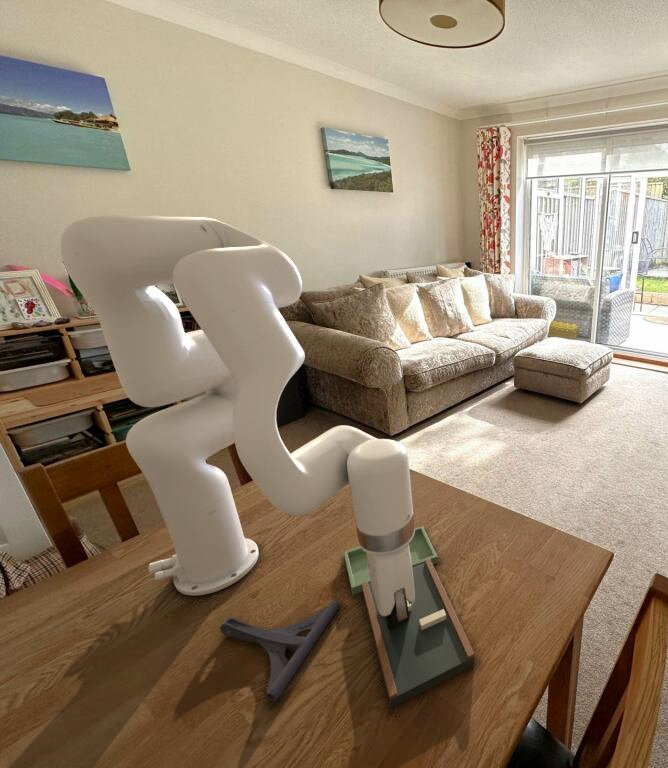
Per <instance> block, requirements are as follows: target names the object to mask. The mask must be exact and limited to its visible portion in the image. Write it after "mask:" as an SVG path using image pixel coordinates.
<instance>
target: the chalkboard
mask: <svg viewBox="0 0 668 768" xmlns="http://www.w3.org/2000/svg"><path fill="white" fill-rule="evenodd" d="M412 571H413V580H414V590H415V601H414V603H413V604H412V605H411V609H412V610H411V611H408V614H409V621H408V622H406V623H404V624H402V625H400V626H397V627H394V628H392V629H388V627H387V623H386V619H385V616H382V615H380V613H379V610H378V607H377V604H376V600H375V596H374V592H373V589H372V585H371V583H369V584H368V581H367V582H364V583H362V590H363V591H362V596H363V600H364V604H365V608H366V612H367V617H368V620H369V624H370V628H371V632H372V636H373V640H374V644H375V648H376V652H377V657H378V660H379V664H380V669H381V673H382V677H383V680H384V681H383V682H384V684H385V685H384V686H385V689H386V693H387V697H388V702H389V705H390V708H391V709H393V708H395V707H397V706H399V705H401V704H403V703H405V702H406V701H408V700H410V699H412V698H414V697H416V696H418V695H420V694H421V693H422V694H423V692H426V691H428V690H430V689H431V688H434V687H435V686H437V685H439V684H441V683H443V682H444V681H447V680H448V679H451V678H452V677H454V676H456V675H458V674H460V673H462V672H464V671H466V670H468V669H470V668H471V667H474V666H475V652H474V650H473V648H472V646H471V643H470V641H469V639H468V637H467V635H466V633H465V631H464V628H463V626H462V624H461V622H460V620H459V618H458V615H457V613H456V611H455V608H454V607H453V604H452V603H451V599H450V598H449V595H448V594H447V592H446V589H445V587H444V585H443V583H442V581H441V579H440V577H439V575H438V573H437V570H436V569H435V566H434V564H432V562H431V560H430V558H429V559H426V560H425V563H422V564H420V565H417V566H414V567H412ZM407 601H408V599H407ZM443 609H444V611H445V613H446V620H444V621H441V622H439V623H437V624H435V625H433V626H430V627H428V628H426V629H424V630H421V627H420V625H419V620H420V619H422V618H424V617H427V616H429V615H431V614H433V613H436V612H438V611H440V610H443Z"/></svg>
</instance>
